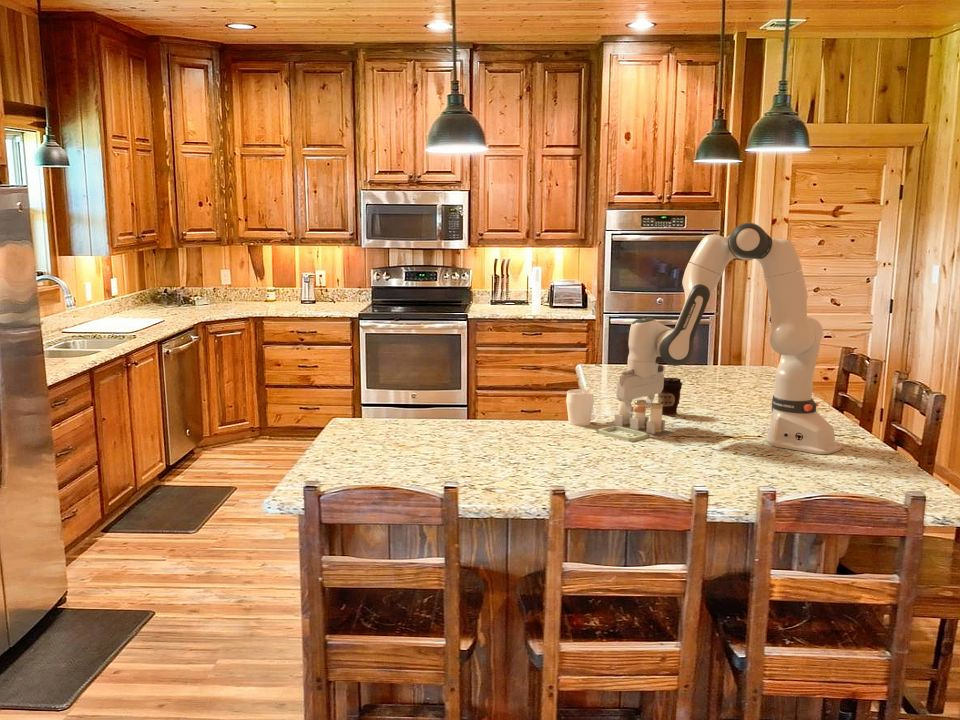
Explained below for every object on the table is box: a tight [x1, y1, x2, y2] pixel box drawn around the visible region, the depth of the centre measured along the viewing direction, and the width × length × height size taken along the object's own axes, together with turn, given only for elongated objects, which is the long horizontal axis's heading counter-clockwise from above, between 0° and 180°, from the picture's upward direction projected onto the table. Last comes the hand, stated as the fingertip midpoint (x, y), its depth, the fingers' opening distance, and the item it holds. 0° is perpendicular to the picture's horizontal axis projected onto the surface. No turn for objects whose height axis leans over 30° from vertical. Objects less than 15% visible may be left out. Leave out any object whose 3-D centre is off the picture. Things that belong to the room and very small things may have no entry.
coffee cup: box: [657, 377, 683, 417], centre depth 303 cm, size 9×8×13 cm
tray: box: [596, 425, 650, 443], centre depth 271 cm, size 14×9×2 cm, turn 42°
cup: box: [565, 388, 595, 427], centre depth 285 cm, size 9×9×12 cm
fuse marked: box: [633, 399, 647, 429], centre depth 279 cm, size 4×4×9 cm
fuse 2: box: [649, 402, 663, 433], centre depth 274 cm, size 4×4×9 cm
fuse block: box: [605, 412, 675, 438], centre depth 280 cm, size 22×8×5 cm, turn 42°
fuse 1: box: [617, 399, 629, 425], centre depth 284 cm, size 4×4×9 cm
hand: (639, 409), depth 279 cm, fingers open, 8 cm apart
